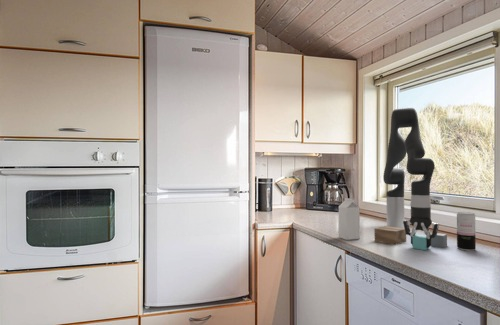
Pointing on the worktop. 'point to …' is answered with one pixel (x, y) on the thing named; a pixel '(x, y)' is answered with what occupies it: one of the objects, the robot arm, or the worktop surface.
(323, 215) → the worktop surface
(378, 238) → the walnut base block
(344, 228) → the milk carton
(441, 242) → the gray cube
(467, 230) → the white and black canister
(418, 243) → the teal cube
